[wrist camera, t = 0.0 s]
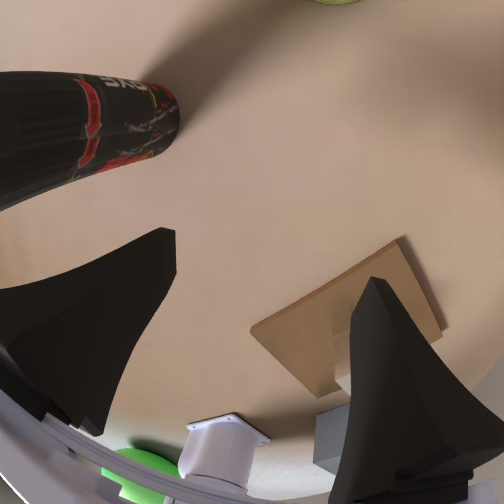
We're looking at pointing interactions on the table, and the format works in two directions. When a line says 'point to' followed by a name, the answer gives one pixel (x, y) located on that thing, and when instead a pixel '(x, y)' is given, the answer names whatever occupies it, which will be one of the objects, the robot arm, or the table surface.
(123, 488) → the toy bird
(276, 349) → the wooden board
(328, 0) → the plant pot
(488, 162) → the table surface
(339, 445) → the pale blue cuboid
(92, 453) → the robot arm
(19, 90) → the deodorant
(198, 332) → the table surface
